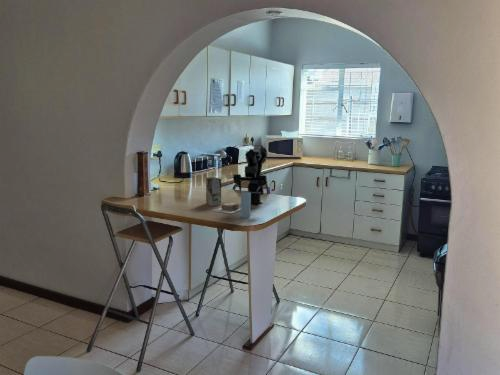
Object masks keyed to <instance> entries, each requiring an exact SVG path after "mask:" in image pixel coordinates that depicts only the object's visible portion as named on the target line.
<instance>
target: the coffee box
mask: <svg viewBox="0 0 500 375" xmlns="http://www.w3.org/2000/svg"><path fill="white" fill-rule="evenodd" d="M205 191H206V192H205V196H206V200H205V202H206V204H207V205H210V206H212V207H215V206H222V179H221V178H220V177H216V176H212V177H211V176H209V177H205Z"/></svg>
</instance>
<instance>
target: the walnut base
mask: <svg viewBox="0 0 500 375" xmlns="http://www.w3.org/2000/svg"><path fill="white" fill-rule="evenodd" d="M213 212H216V213H222V214H228V215H232V214H235V213H237V212H241V206H239V203H234V202H226V203H221V207H219V208H216V209H214V210H213Z"/></svg>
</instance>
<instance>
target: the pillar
mask: <svg viewBox="0 0 500 375" xmlns="http://www.w3.org/2000/svg"><path fill="white" fill-rule="evenodd" d="M251 205H252V204H251V193H249V192H248V191H246V192H245V191H243V192H240V207H241V211H240V218H244V219H246V218H247V219H249V218H250V217H251V216H252V214H251V212H252V211H251V209H252V208H251V207H252V206H251Z"/></svg>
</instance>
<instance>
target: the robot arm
mask: <svg viewBox="0 0 500 375" xmlns="http://www.w3.org/2000/svg"><path fill="white" fill-rule="evenodd" d="M244 155H245V160H246V163H247V165H246V166H244V176H242V175H241V174H237V173H235V174H233V177H232V180H233V183H234V184H235V185H237V186H238V188H239V189H238V190H239V192H240V193H242V192H241V191H242V185H243V184H242V182H243V181H246V182H247V181H248V183H249V184H248V185H247V192H249V193H251V205H255V206H258V205H261V204H263V202H262V201H261V196H262V195H264V193H265V192H264V186H266V185H267V184H268V179H267V175H264V174H263V175H262V170H263V169H262V168H263V165H264V163H265V162H266V160H267V158H268V151H267V149H266V148H265V147H264V145H262V144H255V145H254V148H250V149H249V150H248V151H247V152H245V154H244Z"/></svg>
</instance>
